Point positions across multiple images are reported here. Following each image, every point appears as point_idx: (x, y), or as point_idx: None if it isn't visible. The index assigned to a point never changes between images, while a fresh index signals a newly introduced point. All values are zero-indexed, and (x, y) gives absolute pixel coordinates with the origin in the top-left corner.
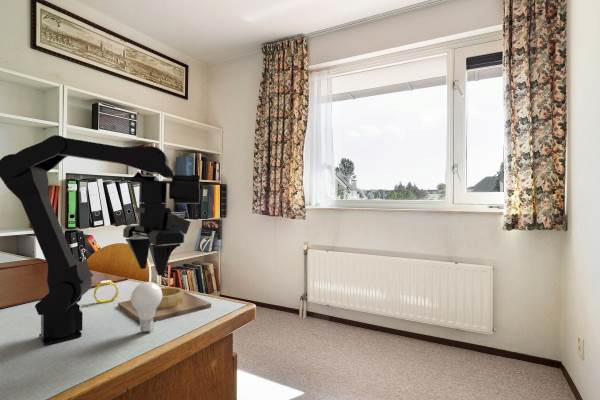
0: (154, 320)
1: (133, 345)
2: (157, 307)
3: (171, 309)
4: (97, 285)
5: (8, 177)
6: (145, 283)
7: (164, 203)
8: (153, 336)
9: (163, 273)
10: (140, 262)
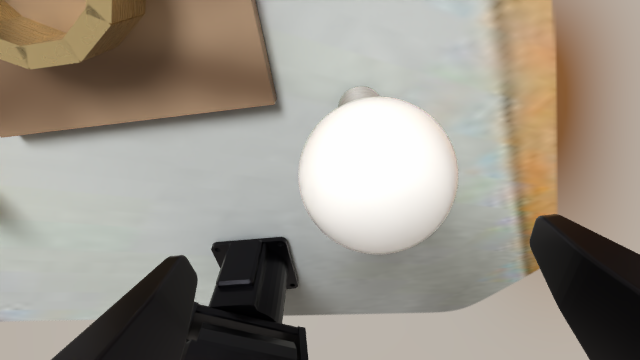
0: (265, 53)
1: None
2: (141, 12)
3: None
4: None
5: None
6: (401, 237)
7: None
8: (415, 94)
9: (568, 221)
10: (179, 335)
